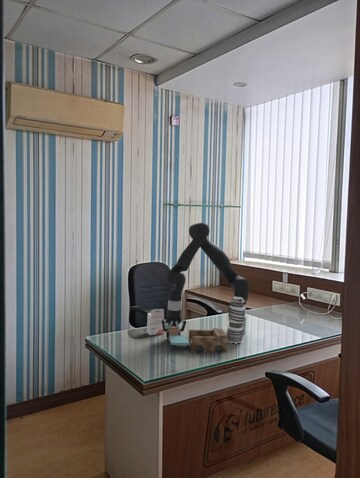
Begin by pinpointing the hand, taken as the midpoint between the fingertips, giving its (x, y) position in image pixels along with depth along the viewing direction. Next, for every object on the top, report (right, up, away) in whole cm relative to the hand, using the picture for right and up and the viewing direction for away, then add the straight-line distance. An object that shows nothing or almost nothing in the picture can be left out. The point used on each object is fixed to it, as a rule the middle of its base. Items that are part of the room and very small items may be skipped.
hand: (173, 338), depth 220 cm
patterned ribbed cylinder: (+34, -3, +5) cm, 35 cm away
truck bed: (+18, -3, -9) cm, 20 cm away
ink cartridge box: (-11, 0, +11) cm, 15 cm away
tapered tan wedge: (0, -1, 0) cm, 1 cm away
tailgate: (+8, +1, -10) cm, 13 cm away
